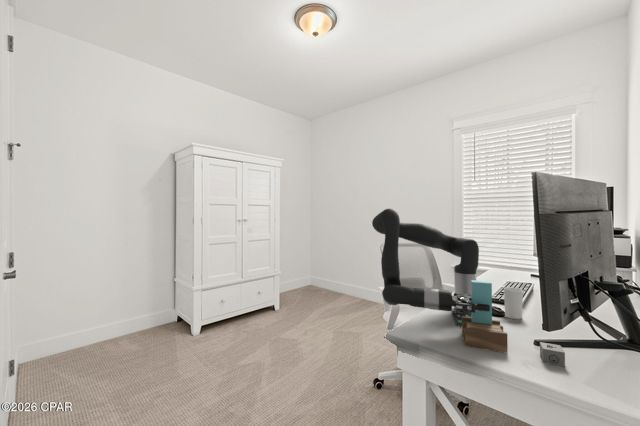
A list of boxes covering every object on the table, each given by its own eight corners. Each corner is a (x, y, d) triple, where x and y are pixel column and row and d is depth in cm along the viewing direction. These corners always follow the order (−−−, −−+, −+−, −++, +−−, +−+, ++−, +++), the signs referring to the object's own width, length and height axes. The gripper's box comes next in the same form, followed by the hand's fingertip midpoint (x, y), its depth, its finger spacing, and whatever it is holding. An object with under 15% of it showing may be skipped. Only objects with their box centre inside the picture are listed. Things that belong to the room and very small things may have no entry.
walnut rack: (462, 334, 106) (461, 316, 106) (499, 339, 102) (499, 320, 102) (465, 348, 95) (465, 328, 95) (507, 355, 91) (507, 333, 91)
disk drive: (451, 316, 127) (456, 329, 112) (451, 310, 127) (456, 321, 113) (477, 319, 123) (486, 332, 109) (477, 312, 124) (486, 324, 109)
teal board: (471, 335, 104) (471, 280, 104) (490, 337, 101) (490, 281, 101) (472, 338, 101) (472, 281, 101) (492, 341, 99) (491, 283, 99)
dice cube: (540, 358, 89) (539, 342, 89) (560, 362, 86) (560, 345, 86) (543, 365, 84) (543, 348, 84) (565, 370, 82) (564, 352, 82)
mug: (526, 320, 120) (525, 291, 120) (508, 319, 121) (508, 290, 121) (514, 312, 130) (514, 285, 130) (498, 311, 131) (498, 285, 131)
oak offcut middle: (466, 339, 100) (466, 322, 100) (500, 344, 96) (499, 326, 96) (467, 342, 98) (467, 324, 98) (501, 347, 94) (501, 328, 94)
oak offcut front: (467, 342, 98) (467, 325, 98) (501, 347, 94) (501, 329, 94) (468, 345, 96) (468, 327, 96) (502, 350, 92) (502, 331, 92)
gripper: (437, 294, 100) (491, 299, 94) (437, 284, 113) (484, 288, 107) (437, 315, 100) (491, 322, 94) (437, 303, 113) (484, 308, 107)
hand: (487, 304), depth 100 cm, fingers open, 8 cm apart
